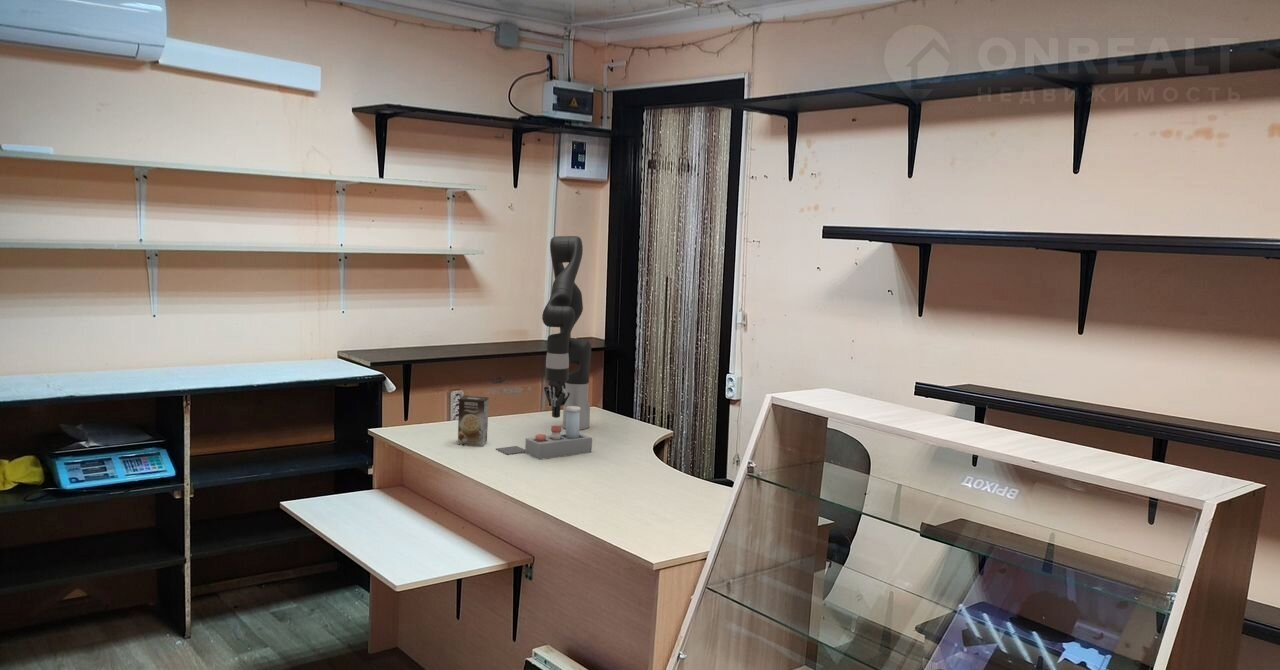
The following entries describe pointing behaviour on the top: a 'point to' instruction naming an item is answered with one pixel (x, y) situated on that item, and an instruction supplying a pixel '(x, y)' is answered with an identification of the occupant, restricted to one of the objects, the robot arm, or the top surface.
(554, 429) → the plunger
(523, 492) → the top surface
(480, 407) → the coffee box
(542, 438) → the plunger
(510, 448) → the mat
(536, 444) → the housing
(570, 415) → the cartridge
